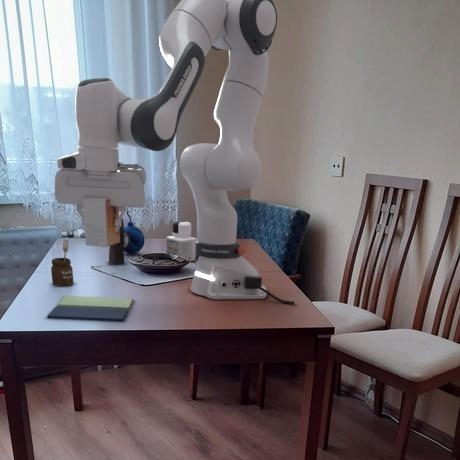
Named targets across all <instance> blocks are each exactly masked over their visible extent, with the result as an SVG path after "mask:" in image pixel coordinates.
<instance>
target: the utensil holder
mask: <svg viewBox="0 0 460 460" xmlns="http://www.w3.org/2000/svg"><path fill="white" fill-rule="evenodd" d="M55 249H60V247H58V246H56V245H55V246H53V248H52V250H51V253H54V252H55ZM62 251H63V252H64V253H63V254H64V255H63V257H59V254H61V251H60V250H57V253H59V254H56V255H55V254H52V257H53V258H52V259H51V264H52V265H51V267H50V268H51V270H50V272H51V273H50V274H51V281H52V282H51V283H52V284H53V286H57V287H69V286H72V285H73V284H74V271H73V267H72V265H71V264H72V262H71V259H70V258H68V257H67V252H68V251H69V239H63V241H62ZM55 256H56V257H55Z"/></svg>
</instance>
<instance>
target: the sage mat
mask: <svg viewBox="0 0 460 460" xmlns="http://www.w3.org/2000/svg"><path fill="white" fill-rule="evenodd" d="M133 301H134V299H133V298H123V297H121V298H120V297H101V296H100V297H99V296H78V295H65V296H64V297H63V298H62V299H61V300H60V301H59V302H58V303H57V306H65V307H87V308H110V309H128V311H129V310H130V308H131V305H132V303H133Z"/></svg>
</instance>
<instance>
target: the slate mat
mask: <svg viewBox="0 0 460 460" xmlns="http://www.w3.org/2000/svg"><path fill="white" fill-rule="evenodd" d="M128 312H129V310H128V309H110V308H87V307H65V306H58V305H56V306H55V307H54V308H53V309H52V310H51V311H50V312H49V314H48V315H47V319H61V320H62V319H63V320H84V321H103V322H104V321H108V322H124V321H125V318H126V316H127V314H128Z"/></svg>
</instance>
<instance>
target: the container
mask: <svg viewBox="0 0 460 460" xmlns="http://www.w3.org/2000/svg"><path fill="white" fill-rule="evenodd" d="M196 240H197V237H194V236H192V224H191V222H189V221H186V220H175V221H173V222H172V235H169V236H166V254H167V253H168V254H173V255H178V256H182V257H185V258H188V260H189V261H188V262H193V261H196V260H195V243H196Z"/></svg>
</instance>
